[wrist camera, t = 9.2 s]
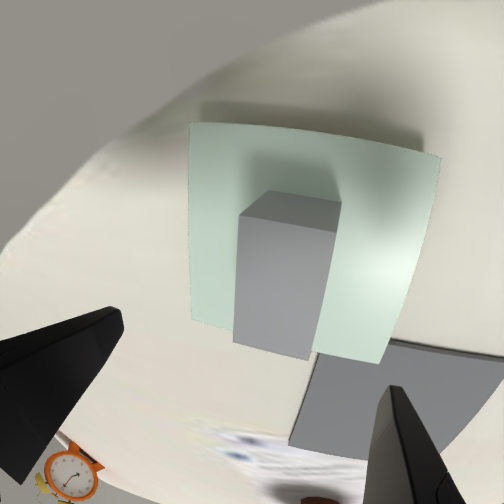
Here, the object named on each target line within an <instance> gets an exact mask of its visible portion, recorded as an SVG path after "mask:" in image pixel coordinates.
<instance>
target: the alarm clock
mask: <svg viewBox="0 0 504 504" xmlns="http://www.w3.org/2000/svg"><path fill="white" fill-rule="evenodd" d="M79 449H80V447H79V446H78V445H77V444H76V443H75V442H70V443H69V448H68V451H62V452H59V453H55V454H53V455H52V456H50V457H49V458H48V459H47V461H46V463H45V467H44V473H45V478H46V480H47V482H44V480H43V478H42V476H41V474H40V473H37V474H36V475H35V480H36V482H37V484H36V486H39V488H40V490H41V491H42V492H43V493H45V494H50V493H49V490H48V488H47V486H46V484H47V483H48V484H49V486H50V487H51V488H52V489H53V490H54V491H55V492H56V494H54V493H52V495H53V496H54V497H55V498H57V499H58V497H57V496H56V495H57V494H59V495H60V496H62V497H64V498H66V499H68V500H69V502H65V501H60V500H58V502H59V504H73V503H71V502H70V501H71V500H72V501H84V500H86V499H89V498H90V497H91V496H92V495H94V494H95V492H96V489H97V487H98V477H97V473H96V472H97V471H100V470H102V469H104V468H105V467H103V466H102V465H101V464H100V463H92V464H91V463H90V462H89V461H88V460H87V459H86V458H85V457H83V456H82V455H80V454H79Z"/></svg>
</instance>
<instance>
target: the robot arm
mask: <svg viewBox="0 0 504 504" xmlns="http://www.w3.org/2000/svg"><path fill="white" fill-rule="evenodd" d="M123 332H124V324H123V319H122V314H121V311H120V310H119V309H117V308H115V307H112V306H108V307H105V308H102V309H99V310H96V311H93V312H90V313H87V314H84V315H81V316H78V317H75V318H71V319H68V320H65V321H62V322H59V323H56V324H53V325H50V326H47V327H44V328H41V329H37V330H34V331H31V332H28V333H26V334H22V335H19V336H16V337H12V338H9V339H5V340H1V341H0V468H2V469H3V470H4V471H5V472H6V473H7V474H8V475H9V476H10V477H12V478H13V479H14V480H15V481H16V482H18V483H19V484H20V485H21V484H23V482H24V481H25V479H26V477H27V476H28V474H29V473H30V471H31V470H32V468H33V467H34V465H35V464H36V462H37V461H38V459H39V458H40V456H41V455H42V453H43V451H44V450H45V449H46V446H47V445H48V444H49V442H50V441H51V439H52V438H53V436H54V435H55V433H56V432H57V431H58V429H59V428H60V426H61V425H62V423H63V422H64V420H65V419H66V418H67V416H68V415H69V413H70V412H71V410H72V409H73V408H74V406H75V405H76V403H77V402H78V401H79V399H80V398H81V396H82V395H83V394H84V392H85V391H86V389H87V388H88V387H89V385H90V384H91V382H92V381H93V380H94V378H95V377H96V376H97V374H98V373H99V372H100V370H101V369H102V367H103V366H104V364H105V363H106V361H107V360H108V358H109V356H110V354H111V353H112V351H113V349H114V348H115V346H116V344H117V343H118V341H119V339H120V338H121V336H122V334H123ZM447 471H448V470H447V468H446V466H445V464H444V462H443V460H442V458H441V456H440V454H439V452H438V450H437V448H436V446H435V445H434V443H433V441H432V439H431V437H430V435H429V433H428V432H427V430H426V428H425V426H424V424H423V422H422V421H421V419H420V417H419V415H418V413H417V412H416V410H415V408H414V406H413V405H412V403H411V401H410V399H409V398H408V396H407V394H406V392H405V391H404V389H403V387H401V386H398V385H392V384H391V385H389V386H388V387H387V388H386V390H385V392H384V394H383V395H382V397H381V399H380V401H379V403H378V406H377V411H376V417H375V423H374V428H373V433H372V438H371V443H370V449H369V456H368V466H367V476H366V484H365V492H364V499H363V504H466V503H465V501H464V499H463V498H462V496H461V494H460V493H459V491H458V489H457V487H456V485H455V483H454V481H453V479H452V477H451V475H450V473H449V472H447ZM0 502H1V498H0Z"/></svg>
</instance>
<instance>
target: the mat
mask: <svg viewBox="0 0 504 504" xmlns="http://www.w3.org/2000/svg"><path fill="white" fill-rule="evenodd" d="M503 379H504V358H497V357H489V356H482V355H475V354H469V353H462V352H456V351H450V350H444V349H438V348H432V347H426V346H420V345H415V344H409V343H404V342H399V341H394V340H389V342H388V345H387V347H386V349H385V352H384V354H383V356H382V358H381V361H380V363H379V364H375V363H369V362H364V361H359V360H353V359H348V358H343V357H338V356H333V355H328V354H324V353H319V357H318V360H317V363H316V366H315V369H314V372H313V375H312V378H311V381H310V384H309V387H308V390H307V393H306V396H305V399H304V402H303V405H302V408H301V411H300V413H299V416H298V419H297V422H296V424H295V427H294V430H293V432H292V435H291V438H290V440H289V443H288V446H292V447H296V448H300V449H305V450H310V451H314V452H319V453H324V454H330V455H335V456H341V457H347V458H353V459H360V460H367V461H368V456H369V449H370V443H371V438H372V433H373V428H374V423H375V417H376V411H377V406H378V403H379V401H380V399H381V397H382V395H383V394H384V392H385V390H386V388H387V387H388V386H389V385H391V384H392V385H398V386H401V387H403V389H404V391H405V392H406V394H407V396H408V398H409V399H410V401H411V403H412V405H413V406H414V408H415V410H416V412H417V413H418V415H419V417H420V419H421V421H422V422H423V424H424V426H425V428H426V430H427V432H428V433H429V435H430V437H431V439H432V441H433V443H434V445H435V446H436V448H437V450H438V452H439V454H440V453H441V452H442V451H443V450H444V449H445V448H446V447H447V446H448V445H449V444H450V443H451V442H452V441H453V440H454V439H455V438H456V437H457V436H458V434H459V433H460V432H461V431H462V430H463V429H464V428H465V427H466V426H467V424H468V423H469V422H470V421H471V420H472V419H473V417H474V416H475V415H476V414H477V413H478V411H479V410H480V409H481V408H482V407H483V405H484V404H485V403H486V401H487V400H488V399H489V398H490V396H491V395H492V394H493V392H494V391H495V390H496V388H497V387H498V386H499V384H500V383H501V381H502V380H503Z"/></svg>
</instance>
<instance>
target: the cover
mask: <svg viewBox="0 0 504 504" xmlns="http://www.w3.org/2000/svg"><path fill="white" fill-rule="evenodd" d="M441 161H442V158H441V157H439V156H436V155H432V154H428V153H424V152H420V151H416V150H412V149H408V148H403V147H399V146H395V145H390V144H385V143H380V142H375V141H370V140H365V139H360V138H354V137H348V136H343V135H336V134H330V133H323V132H316V131H309V130H301V129H293V128H284V127H275V126H264V125H252V124H239V123H222V122H190V131H189V173H188V229H189V272H190V297H191V317H192V320H194V321H198V322H201V323H205V324H208V325H212V326H215V327H219V328H222V329H226V330H229V331H233V342H235V343H238V344H242V345H246V346H249V347H253V348H257V349H261V350H265V351H269V352H273V353H277V354H281V355H285V356H289V357H293V358H297V359H302V360H306V361H309V357H310V353H311V351H314V352H319V353H324V354H328V355H333V356H338V357H343V358H348V359H353V360H359V361H364V362H369V363H375V364H379V363H380V361H381V358H382V356H383V354H384V352H385V349H386V347H387V345H388V342H389V340H390V337H391V335H392V332H393V330H394V327H395V325H396V322H397V320H398V317H399V314H400V312H401V309H402V306H403V303H404V301H405V298H406V295H407V292H408V289H409V286H410V283H411V280H412V277H413V274H414V271H415V268H416V265H417V261H418V258H419V255H420V251H421V248H422V244H423V241H424V237H425V233H426V229H427V226H428V222H429V218H430V214H431V209H432V205H433V201H434V196H435V192H436V187H437V182H438V177H439V172H440V166H441Z"/></svg>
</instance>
